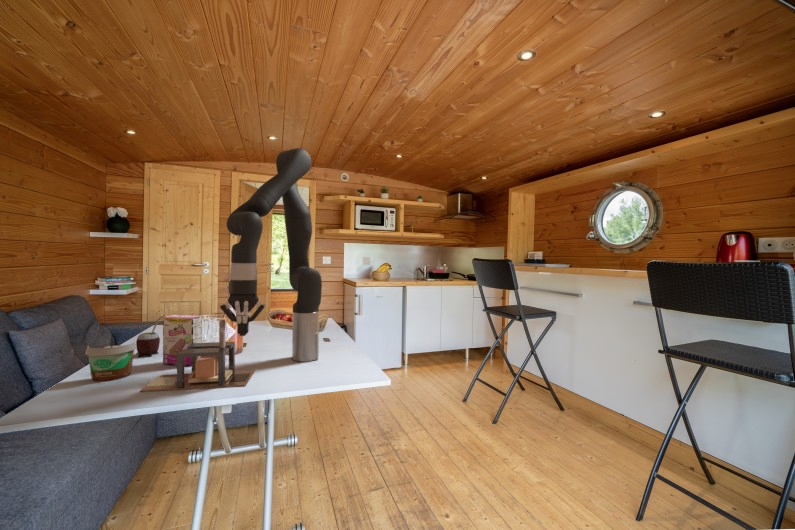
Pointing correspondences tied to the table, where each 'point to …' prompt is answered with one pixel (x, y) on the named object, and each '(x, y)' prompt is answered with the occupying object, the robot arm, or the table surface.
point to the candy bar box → (180, 336)
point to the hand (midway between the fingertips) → (242, 335)
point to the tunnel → (181, 379)
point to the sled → (221, 345)
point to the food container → (110, 362)
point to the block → (206, 366)
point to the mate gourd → (148, 343)
